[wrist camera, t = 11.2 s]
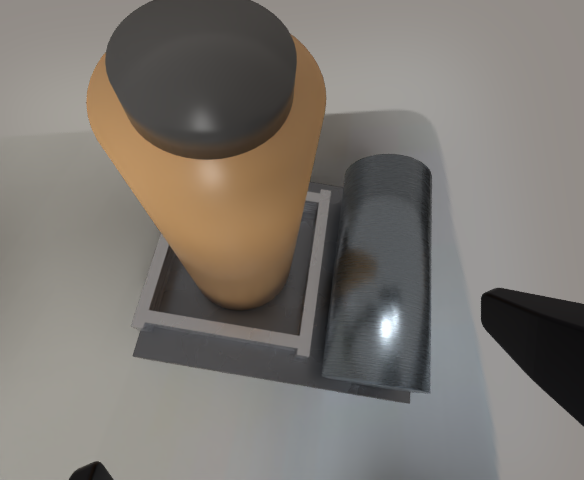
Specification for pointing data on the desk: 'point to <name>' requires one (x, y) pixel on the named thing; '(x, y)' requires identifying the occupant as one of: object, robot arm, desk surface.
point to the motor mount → (319, 295)
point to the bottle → (213, 136)
